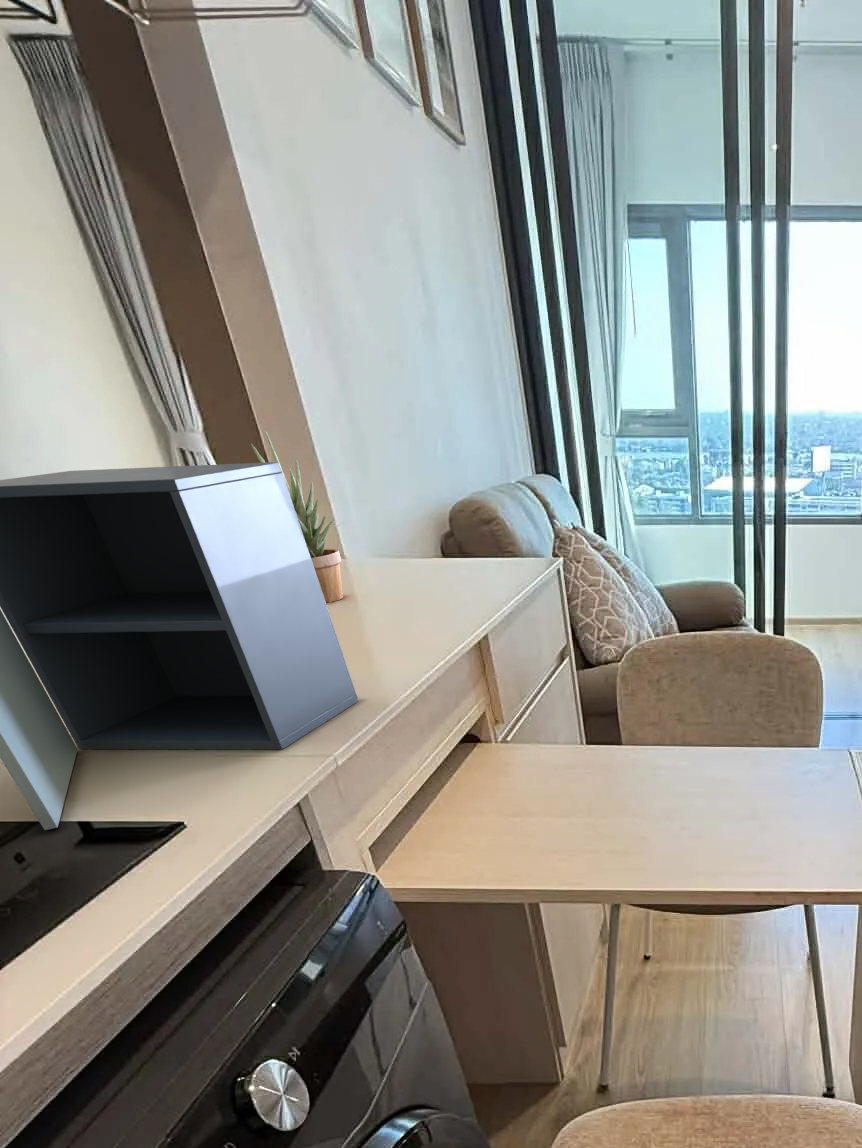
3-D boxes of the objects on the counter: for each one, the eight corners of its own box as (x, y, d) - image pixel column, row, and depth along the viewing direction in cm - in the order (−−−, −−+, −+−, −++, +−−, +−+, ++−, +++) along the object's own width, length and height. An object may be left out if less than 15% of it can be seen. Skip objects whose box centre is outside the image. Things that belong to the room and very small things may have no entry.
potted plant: (286, 602, 150) (226, 433, 134) (336, 592, 155) (284, 428, 140) (312, 608, 144) (253, 433, 129) (364, 597, 150) (312, 428, 135)
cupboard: (282, 749, 88) (173, 479, 73) (78, 749, 90) (-66, 488, 76) (358, 701, 100) (279, 461, 85) (177, 702, 103) (70, 470, 88)
